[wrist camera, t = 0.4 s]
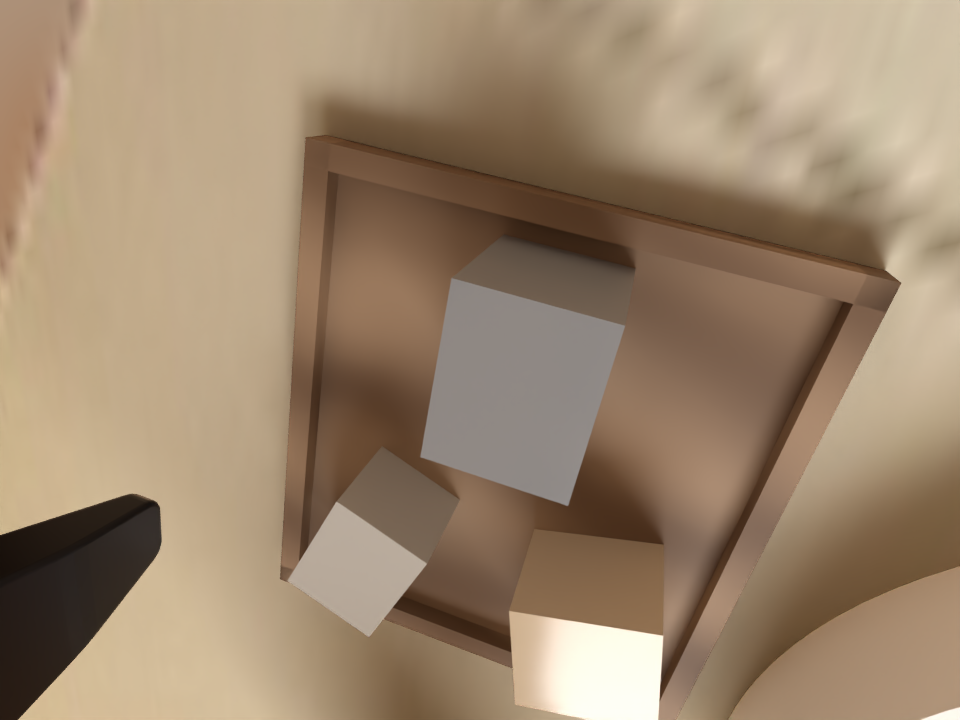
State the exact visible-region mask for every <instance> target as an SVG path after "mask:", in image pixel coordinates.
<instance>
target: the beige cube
mask: <svg viewBox="0 0 960 720" xmlns="http://www.w3.org/2000/svg"><path fill="white" fill-rule="evenodd" d="M459 501H460V499H458V498H457V497H455V496H454V495H452V494H451V493H449V492H448V491H446V490H445V489H444V488H442V487H441V486H439V485H438V484H436V483H435V482H433V481H432V480H430V479H429V478H428V477H426V476H425V475H423V474H422V473H420V472H419V471H417V470H416V469H415V468H413V467H412V466H410V465H409V464H407V463H406V462H404V461H403V460H401V459H400V458H399V457H397V456H396V455H394V454H393V453H391V452H390V451H388V450H387V449H385V448H384V447H383V446H382V447H381V448H380V449H379V450H378V452H377V453H376V454H375V455H374V456H373V458H372V459H371V460H370V461H369V463H368V464H367V465H366V466H365V467H364V469H363V470H362V471H361V472H360V474H359V475H358V476H357V477H356V478H355V480H354V481H353V482H352V483H351V485H350V486H349V487H348V488H347V489H346V491H345V492H344V493H343V494H342V496H341V497H340V498H339V499H338V500H337V502H336V503H335V505H334V507H333V508H332V510H331V511H330V513H329V515H328V516H327V518H326V519H325V521H324V523H323V524H322V526H321V528H320V529H319V531H318V532H317V534H316V536H315V537H314V539H313V540H312V542H311V544H310V545H309V547H308V549H307V550H306V552H305V553H304V555H303V557H302V558H301V560H300V561H299V563H298V565H297V566H296V568H295V570H294V571H293V573H292V574H291V576H290V578H289V579H288V582H290V583H291V584H292V585H294V586H295V587H297V588H298V589H300V590H301V591H303V592H304V593H305V594H307V595H308V596H310V597H311V598H313V599H314V600H316V601H317V602H318V603H320V604H321V605H323V606H324V607H326V608H327V609H329V610H330V611H331V612H333V613H334V614H336V615H337V616H339V617H340V618H342V619H343V620H344V621H346V622H347V623H349V624H350V625H352V626H353V627H355V628H356V629H357V630H359V631H360V632H362V633H363V634H365V635H366V636H368V637H370V635H371V634H372V633H373V632H374V630H375V629H376V628H377V627H378V625H379V624H380V623H381V622H382V620H383V619H384V618H385V616H386V615H387V614H388V613H389V611H390V610H391V609H392V608H393V606H394V605H395V604H396V603H397V601H398V600H399V599H400V597H401V596H402V595H403V594H404V592H405V591H406V590H407V589H408V587H409V586H410V585H411V584H412V582H413V581H414V580H415V578H416V577H417V576H418V575H419V573H420V572H421V571H422V570H423V568H424V567H425V566H426V565H427V563H428V561H429V559H430V557H431V555H432V553H433V551H434V549H435V548H436V546H437V544H438V542H439V540H440V538H441V536H442V534H443V532H444V530H445V528H446V526H447V524H448V522H449V520H450V518H451V517H452V515H453V513H454V511H455V509H456V507H457V505H458V503H459Z"/></svg>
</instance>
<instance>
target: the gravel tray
mask: <svg viewBox="0 0 960 720" xmlns="http://www.w3.org/2000/svg"><path fill="white" fill-rule="evenodd" d="M502 235H508V236H512V237H516V238H520V239H524V240H527V241H531V242H535V243H539V244H543V245H547V246H551V247H554V248H558V249H562V250H566V251H570V252H574V253H578V254H582V255H585V256H589V257H593V258H597V259H601V260H605V261H609V262H612V263H616V264H620V265H624V266H628V267H632V268H636V270H635V276H634V281H633V286H632V292H631V297H630V302H629V308H628V313H627V318H626V324H625V328H624V331H623V334H622V337H621V340H620V344H619V347H618V350H617V353H616V356H615V359H614V363H613V366H612V369H611V372H610V375H609V378H608V381H607V385H606V388H605V391H604V394H603V397H602V400H601V404H600V407H599V410H598V413H597V416H596V419H595V423H594V426H593V429H592V432H591V435H590V438H589V441H588V445H587V448H586V451H585V454H584V457H583V460H582V464H581V467H580V470H579V473H578V476H577V479H576V482H575V486H574V489H573V492H572V495H571V498H570V501H569V505H568V506H566V505H563V504H560V503H557V502H554V501H551V500H548V499H545V498H542V497H539V496H536V495H533V494H530V493H527V492H524V491H521V490H518V489H515V488H512V487H509V486H506V485H503V484H500V483H497V482H494V481H491V480H488V479H485V478H482V477H479V476H476V475H473V474H470V473H467V472H464V471H461V470H458V469H455V468H452V467H449V466H446V465H443V464H440V463H437V462H434V461H431V460H428V459H425V458H422V457H420V456H421V450H422V445H423V439H424V433H425V427H426V422H427V416H428V410H429V404H430V399H431V393H432V387H433V381H434V376H435V370H436V364H437V358H438V353H439V347H440V341H441V335H442V330H443V324H444V318H445V312H446V307H447V301H448V295H449V290H450V284H451V278H452V277H453V276H455V275H456V274H457V273H458V272H459V271H461V270H462V269H463V268H464V267H465V266H467V265H468V264H469V263H470V262H471V261H472V260H474V259H475V258H476V257H477V256H478V255H480V254H481V253H482V252H483V251H484V250H486V249H487V248H488V247H489V246H490V245H492V244H493V243H494V242H495V241H496V240H498V239H499V238H500V237H501V236H502ZM900 285H901V282H899V281H898V280H897V279H896V278H894V277H893V276H892V275H891V274H889V273H888V272H887V271H884V270H880V269H876V268H872V267H868V266H864V265H859V264H855V263H851V262H847V261H843V260H839V259H835V258H831V257H826V256H822V255H818V254H814V253H810V252H806V251H802V250H797V249H793V248H789V247H785V246H781V245H777V244H773V243H769V242H764V241H760V240H756V239H752V238H748V237H744V236H740V235H736V234H731V233H727V232H723V231H719V230H715V229H711V228H707V227H703V226H698V225H694V224H690V223H686V222H682V221H678V220H674V219H669V218H665V217H661V216H657V215H653V214H649V213H645V212H641V211H636V210H632V209H628V208H624V207H620V206H616V205H612V204H608V203H603V202H599V201H595V200H591V199H587V198H583V197H579V196H575V195H570V194H566V193H562V192H558V191H554V190H550V189H546V188H541V187H537V186H533V185H529V184H525V183H521V182H517V181H513V180H508V179H504V178H500V177H496V176H492V175H488V174H484V173H480V172H475V171H471V170H467V169H463V168H459V167H455V166H451V165H447V164H442V163H438V162H434V161H430V160H426V159H422V158H418V157H413V156H409V155H405V154H401V153H397V152H393V151H389V150H385V149H380V148H376V147H372V146H368V145H364V144H360V143H356V142H352V141H347V140H343V139H339V138H335V137H331V136H327V135H324V136H315V137H306V141H305V158H304V176H303V193H302V210H301V228H300V245H299V262H298V279H297V297H296V314H295V331H294V349H293V366H292V383H291V400H290V418H289V435H288V452H287V470H286V487H285V504H284V521H283V539H282V556H281V573H280V579H281V580H284V581H286V582H288V579H289V578H290V576H291V574H292V573H293V571H294V570H295V568H296V566H297V565H298V563H299V561H300V560H301V558H302V557H303V555H304V553H305V552H306V550H307V549H308V547H309V545H310V544H311V542H312V540H313V539H314V537H315V536H316V534H317V532H318V531H319V529H320V528H321V526H322V524H323V523H324V521H325V519H326V518H327V516H328V515H329V513H330V511H331V510H332V508H333V507H334V505H335V503H336V502H337V500H338V499H339V498H340V497H341V496H342V494H343V493H344V492H345V491H346V489H347V488H348V487H349V486H350V485H351V483H352V482H353V481H354V480H355V478H356V477H357V476H358V475H359V474H360V472H361V471H362V470H363V469H364V467H365V466H366V465H367V464H368V463H369V461H370V460H371V459H372V458H373V456H374V455H375V454H376V453H377V452H378V450H379V449H380V448H381V447H382V446H383V447H384V448H385V449H387V450H388V451H390V452H391V453H393V454H394V455H396V456H397V457H399V458H400V459H401V460H403V461H404V462H406V463H407V464H409V465H410V466H412V467H413V468H415V469H416V470H417V471H419V472H420V473H422V474H423V475H425V476H426V477H428V478H429V479H430V480H432V481H433V482H435V483H436V484H438V485H439V486H441V487H442V488H444V489H445V490H446V491H448V492H449V493H451V494H452V495H454V496H455V497H457V498H458V499H460V501H459V503H458V505H457V507H456V509H455V511H454V513H453V515H452V517H451V518H450V520H449V522H448V524H447V526H446V528H445V530H444V532H443V534H442V536H441V538H440V540H439V542H438V544H437V546H436V548H435V549H434V551H433V553H432V555H431V557H430V559H429V561H428V563H427V565H426V566H425V567H424V568H423V570H422V571H421V572H420V573H419V575H418V576H417V577H416V578H415V580H414V581H413V582H412V584H411V585H410V586H409V587H408V589H407V590H406V591H405V592H404V594H403V595H402V596H401V597H400V599H399V600H398V601H397V603H396V604H395V605H394V606H393V608H392V609H391V610H390V611H389V613H388V614H387V615H386V616H385V618H384V619H385V620H388V621H390V622H393V623H396V624H398V625H401V626H403V627H406V628H409V629H411V630H414V631H417V632H419V633H422V634H424V635H427V636H430V637H432V638H435V639H437V640H440V641H443V642H445V643H448V644H450V645H453V646H456V647H458V648H461V649H463V650H466V651H469V652H471V653H474V654H476V655H479V656H482V657H484V658H487V659H489V660H492V661H495V662H497V663H500V664H503V665H505V666H508V667H510V668H513V665H512V649H511V634H510V618H509V610H510V606H511V603H512V600H513V597H514V593H515V590H516V587H517V584H518V580H519V577H520V574H521V571H522V567H523V564H524V561H525V558H526V555H527V551H528V548H529V545H530V542H531V538H532V535H533V532H534V529H538V530H547V531H555V532H563V533H572V534H580V535H588V536H596V537H605V538H613V539H621V540H629V541H638V542H646V543H654V544H662V545H664V609H663V648H662V665H661V681H660V698H659V714H658V720H676V719H677V717H678V715H679V713H680V711H681V709H682V707H683V705H684V703H685V701H686V699H687V697H688V695H689V693H690V692H691V690H692V688H693V686H694V684H695V682H696V680H697V678H698V676H699V674H700V672H701V670H702V668H703V666H704V664H705V662H706V660H707V659H708V657H709V655H710V653H711V651H712V649H713V647H714V645H715V643H716V641H717V639H718V637H719V635H720V633H721V631H722V629H723V628H724V626H725V624H726V622H727V620H728V618H729V616H730V614H731V612H732V610H733V608H734V606H735V604H736V602H737V600H738V598H739V597H740V595H741V593H742V591H743V589H744V587H745V585H746V583H747V581H748V579H749V577H750V575H751V573H752V571H753V569H754V567H755V566H756V564H757V562H758V560H759V558H760V556H761V554H762V552H763V550H764V548H765V546H766V544H767V542H768V540H769V538H770V536H771V535H772V533H773V531H774V529H775V527H776V525H777V523H778V521H779V519H780V517H781V515H782V513H783V511H784V509H785V507H786V505H787V504H788V502H789V500H790V498H791V496H792V494H793V492H794V490H795V488H796V486H797V484H798V482H799V480H800V478H801V476H802V474H803V473H804V471H805V469H806V467H807V465H808V463H809V461H810V459H811V457H812V455H813V453H814V451H815V449H816V447H817V445H818V443H819V442H820V440H821V438H822V436H823V434H824V432H825V430H826V428H827V426H828V424H829V422H830V420H831V418H832V416H833V414H834V412H835V411H836V409H837V407H838V405H839V403H840V401H841V399H842V397H843V395H844V393H845V391H846V389H847V387H848V385H849V383H850V381H851V380H852V378H853V376H854V374H855V372H856V370H857V368H858V366H859V364H860V362H861V360H862V358H863V356H864V354H865V352H866V350H867V349H868V347H869V345H870V343H871V341H872V339H873V337H874V335H875V333H876V331H877V329H878V327H879V325H880V323H881V321H882V319H883V318H884V316H885V314H886V312H887V310H888V308H889V306H890V304H891V302H892V300H893V298H894V296H895V294H896V292H897V290H898V288H899V287H900ZM289 583H290V582H289Z"/></svg>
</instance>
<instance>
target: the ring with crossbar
mask: <svg viewBox="0 0 960 720" xmlns="http://www.w3.org/2000/svg"><path fill="white" fill-rule="evenodd" d="M728 720H960V566H959V567H956V568H952V569H949V570H946V571H943V572H940V573H937V574H934V575H931V576H928V577H924V578H921V579H919V580H916V581H914V582H911V583H908V584H906V585H903V586H901V587H898V588H895V589H893V590H890V591H888V592H886V593H884V594H881V595H879V596H877V597H875V598H872V599H870V600H868V601H866V602H864V603H861V604H860V605H858V606H856V607H854V608H852V609H850V610H848V611H846V612H844V613H842V614H841V615H839V616H837V617H835V618H834V619H832V620H830V621H829V622H827V623H825V624H824V625H822V626H820V627H819V628H817V629H816V630H814V631H813V632H811V633H810V634H808V635H807V636H806V637H804V638H803V639H801V640H800V641H798V642H797V643H796V644H794V645H793V646H792V647H791V648H789V649H788V650H787V651H786V652H785V653H783V654H782V655H781V656H780V657H779V658H777V659H776V660H775V661H774V662H773V663H772V664H771V665H770V666H769V667H768V668H767V669H766V670H765V671H764V672H763V673H762V674H761V675H760V676H759V677H758V678H757V679H756V681H755V682H754V683H753V684H752V685H751V686H750V688H749V689H748V690H747V691H746V693H745V694H744V695H743V697H742V698H741V700H740V701H739V703H738V704H737V705H736V707H735V708H734V710H733V712H732V714H731V716H730V717H729V719H728Z"/></svg>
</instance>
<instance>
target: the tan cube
mask: <svg viewBox="0 0 960 720" xmlns="http://www.w3.org/2000/svg"><path fill="white" fill-rule="evenodd" d="M663 609H664V545H662V544H654V543H646V542H638V541H629V540H621V539H613V538H605V537H596V536H588V535H580V534H572V533H563V532H555V531H547V530H538V529H534V532H533V535H532V538H531V542H530V545H529V548H528V551H527V555H526V558H525V561H524V564H523V567H522V571H521V574H520V577H519V580H518V584H517V587H516V590H515V593H514V597H513V600H512V603H511V606H510V610H509V618H510V634H511V649H512V665H513V681H514V697H515V705H519V706H524V707H529V708H534V709H539V710H544V711H549V712H554V713H559V714H563V715H568V716H573V717H578V718H583V719H588V720H658V714H659V698H660V681H661V665H662V648H663Z"/></svg>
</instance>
